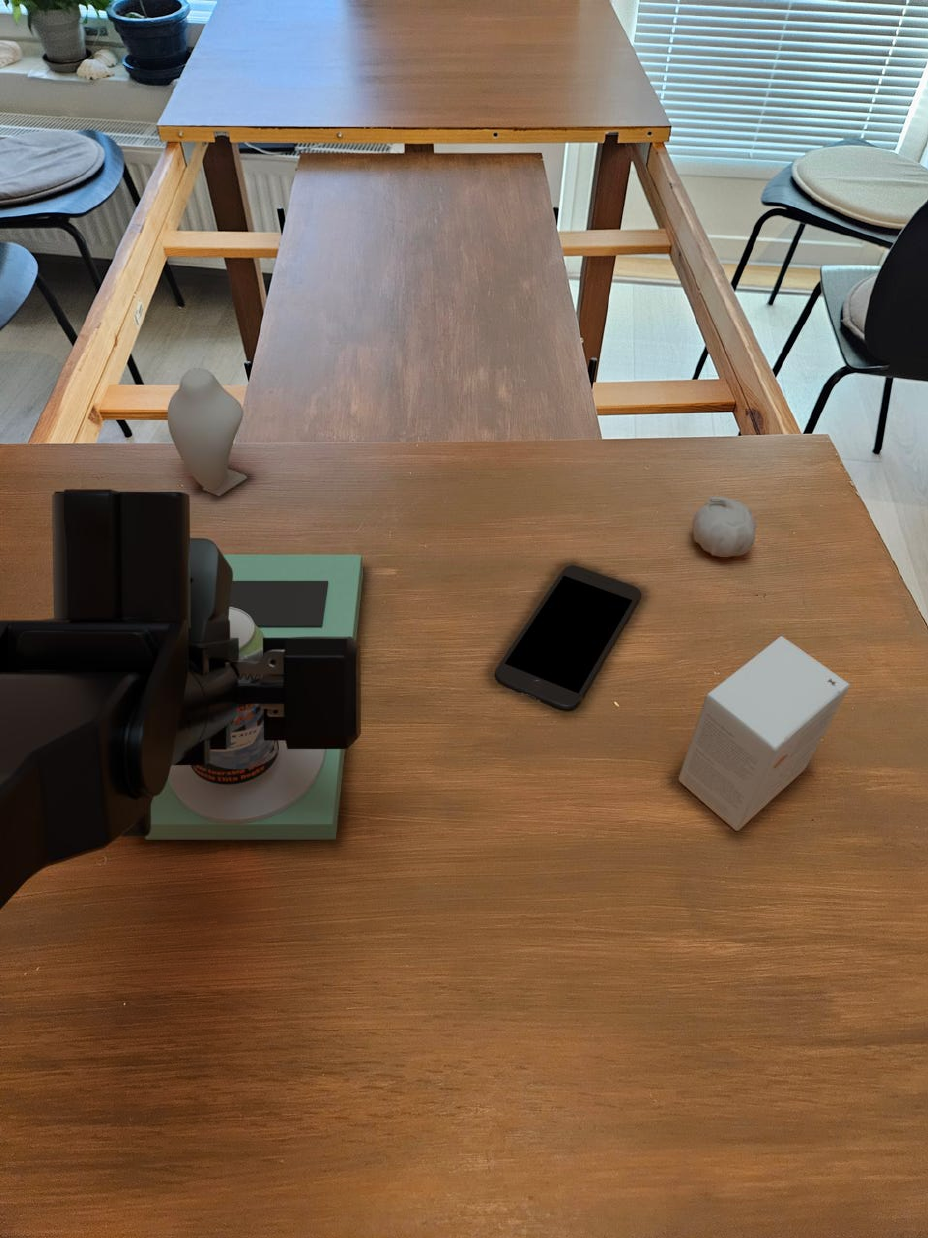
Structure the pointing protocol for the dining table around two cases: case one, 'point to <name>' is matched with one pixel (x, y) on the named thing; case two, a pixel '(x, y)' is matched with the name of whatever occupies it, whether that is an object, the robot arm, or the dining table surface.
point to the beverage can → (242, 720)
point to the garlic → (724, 527)
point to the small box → (760, 730)
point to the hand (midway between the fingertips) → (231, 676)
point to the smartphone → (568, 638)
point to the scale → (299, 778)
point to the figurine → (205, 429)
